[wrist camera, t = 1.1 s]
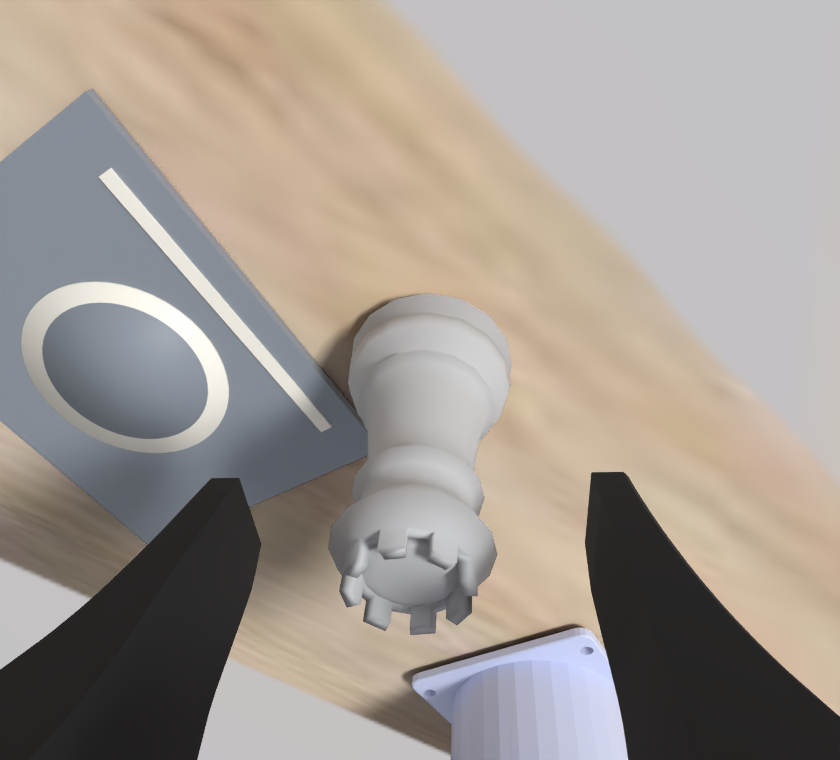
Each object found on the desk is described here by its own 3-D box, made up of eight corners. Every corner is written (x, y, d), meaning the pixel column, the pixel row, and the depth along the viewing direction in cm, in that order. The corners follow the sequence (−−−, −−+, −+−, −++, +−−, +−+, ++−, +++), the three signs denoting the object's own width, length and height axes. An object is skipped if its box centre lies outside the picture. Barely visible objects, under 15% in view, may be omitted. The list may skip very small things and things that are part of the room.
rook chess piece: (359, 416, 20) (302, 658, 13) (345, 283, 17) (267, 502, 11) (507, 419, 19) (524, 669, 13) (515, 284, 17) (541, 510, 10)
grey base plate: (382, 443, 20) (380, 451, 20) (156, 542, 24) (151, 551, 23) (92, 88, 15) (83, 92, 14) (-147, 285, 18) (-158, 291, 18)
